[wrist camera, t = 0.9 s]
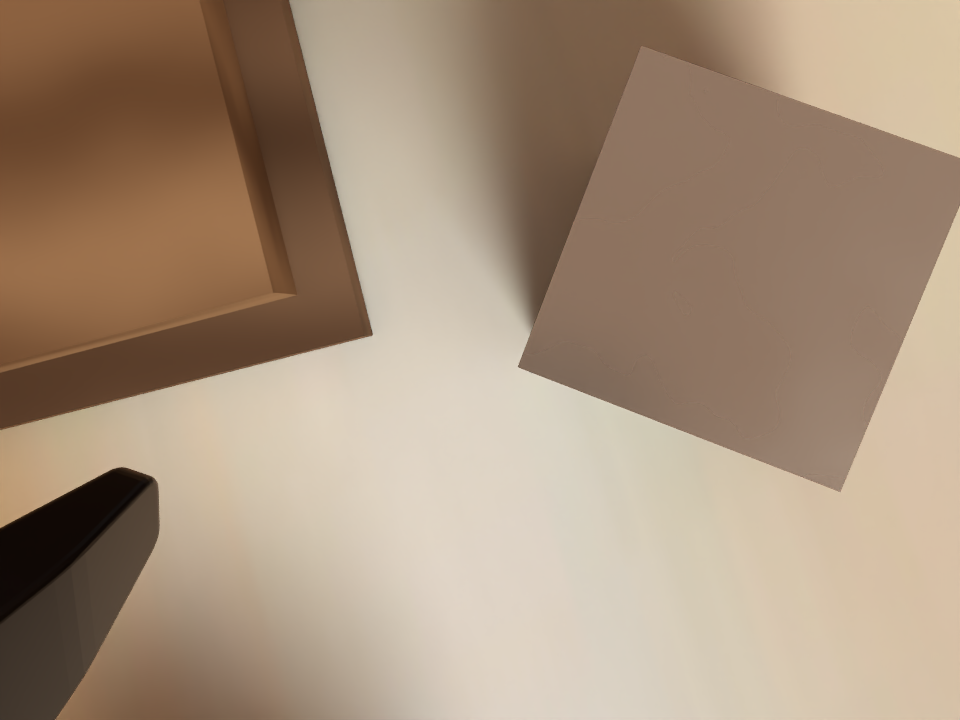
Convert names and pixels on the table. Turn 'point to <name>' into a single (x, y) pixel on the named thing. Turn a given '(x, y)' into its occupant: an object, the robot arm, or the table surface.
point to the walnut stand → (160, 201)
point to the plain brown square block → (744, 267)
